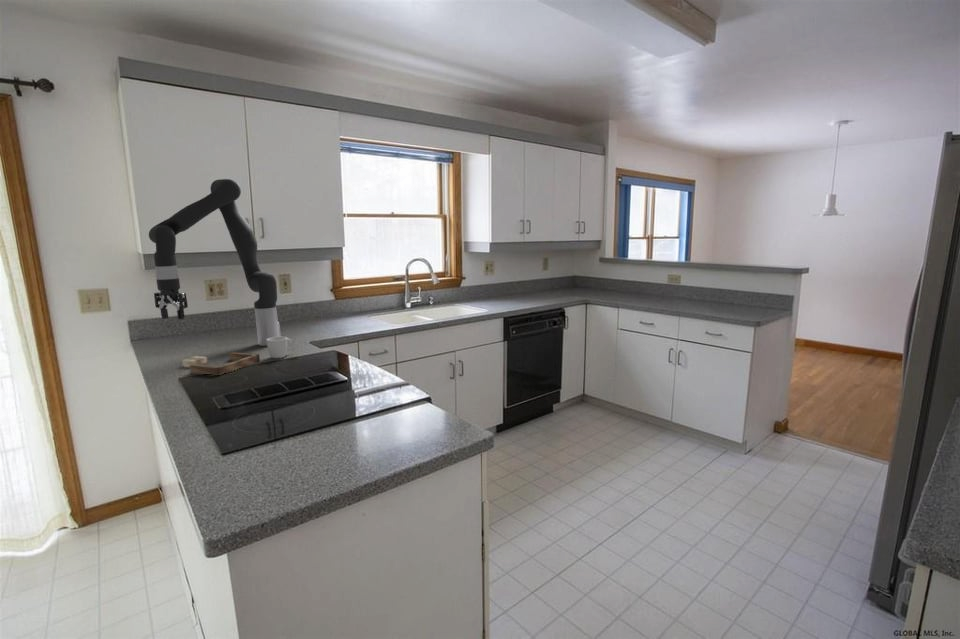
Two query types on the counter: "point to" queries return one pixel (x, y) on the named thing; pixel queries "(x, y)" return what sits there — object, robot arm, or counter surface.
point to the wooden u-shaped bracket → (239, 362)
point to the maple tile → (194, 361)
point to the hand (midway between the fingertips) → (173, 318)
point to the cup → (278, 346)
